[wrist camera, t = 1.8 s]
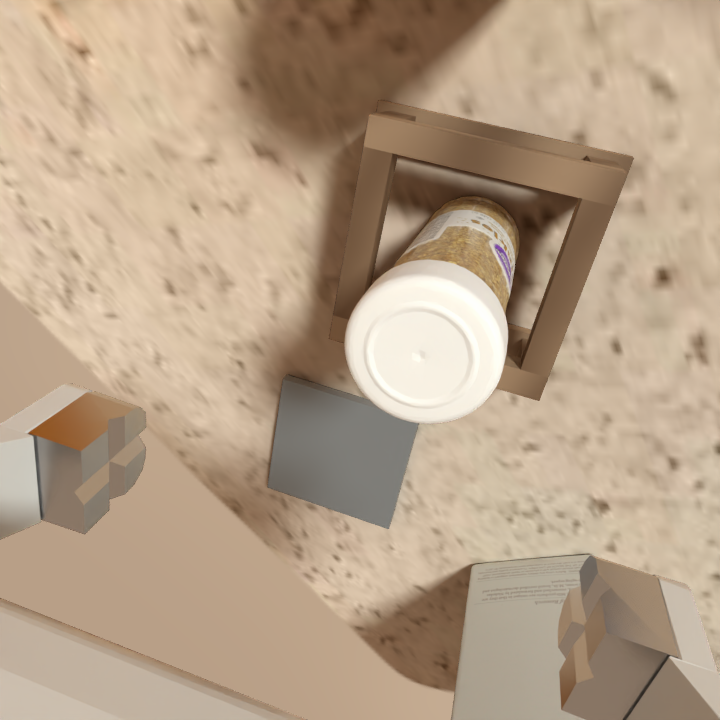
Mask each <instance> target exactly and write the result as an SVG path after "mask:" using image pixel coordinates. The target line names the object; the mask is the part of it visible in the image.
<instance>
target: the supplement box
mask: <svg viewBox="0 0 720 720" xmlns="http://www.w3.org/2000/svg"><path fill="white" fill-rule="evenodd" d="M590 555H592V554H590ZM590 555H576V556H562V557H551V558H539V559H525V560H514V561H503V562H490V563H482V564H476V565H473V566H472V568H471V574H470V582H469V588H468V595H467V604H466V611H465V619H464V626H463V633H462V641H461V648H460V656H459V663H458V672H457V679H456V686H455V694H454V701H453V710H452V717H451V720H585V719H582V718H580V717H577V716H575V715H572V714H570V713H567V712H565V711H562V710H561V695H560V677H559V671H560V669H561V667H562V665H563V663H564V662H565V660H566V658H565V657H564V655H563V654H562V652H561V651H560V649H559V648H558V625H559V618H560V614H561V611H562V607H563V604H564V602H565V599H566V597H567V595H568V593H569V591H570V590H572V589H574V588H576V587H578V586H581V585H580V573H579V571H580V569H581V567H582V566H583V564H584V562H585V560H586V559H587V558H588V557H589V556H590ZM592 556H594V555H592Z"/></svg>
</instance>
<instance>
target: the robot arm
mask: <svg viewBox="0 0 720 720" xmlns="http://www.w3.org/2000/svg"><path fill="white" fill-rule="evenodd" d="M145 428H146V412H145V411H144V410H143V409H142V408H141V407H138V406H135V405H133V404H130V403H127V402H124V401H121V400H118V399H116V398H113V397H110V396H107V395H104V394H101V393H98V392H96V391H92V390H89V389H86V388H83V387H80V386H78V385H74V384H63V385H61V386H60V387H58V388H56V389H55V390H53V391H52V392H50V393H48V394H47V395H45V396H44V397H42V398H40V399H39V400H37V401H36V402H34V403H33V404H31V405H29V406H28V407H26V408H25V409H23V410H22V411H20V412H18V413H17V414H15V415H14V416H12V417H10V418H9V419H7V420H6V421H4V422H3V423H1V424H0V539H3V538H5V537H7V536H10V535H12V534H15V533H17V532H19V531H22V530H24V529H26V528H29V527H31V526H33V525H36V524H38V523H40V522H41V520H44V521H47V522H50V523H53V524H56V525H59V526H62V527H65V528H68V529H71V530H73V531H76V532H79V533H82V534H86V533H87V532H88V531H89V530H90V529H91V528H92V527H93V525H94V524H95V523H97V522H98V521H99V520H100V519H101V518H102V516H104V515H105V514H106V513H107V512H108V511H109V499H112V498H115V497H118V496H121V495H124V494H126V492H127V491H128V490H129V489H130V488H131V487H132V486H133V485H134V484H135V482H136V480H137V479H138V477H139V475H140V473H141V471H142V469H143V465H144V461H145V454H146V447H145V445H144V443H143V441H142V440H141V438H140V436H139V434H140V433H141V432H142V431H143V430H144V429H145ZM579 573H580V585H581V586H578V587H576V588H574V589H572V590H570V591H569V593H568V595H567V597H566V599H565V602H564V604H563V607H562V611H561V614H560V618H559V625H558V648H559V649H560V651H561V652H562V654H563V655H564V657H565V658H566V660H565V662H564V663H563V665H562V667H561V669H560V671H559V677H560V695H561V710H562V711H565V712H567V713H570V714H572V715H575V716H577V717H580V718H582V719H585V720H720V673H718V670H717V667H716V664H715V661H714V658H713V655H712V652H711V649H710V646H709V643H708V640H707V637H706V634H705V631H704V627H703V624H702V621H701V618H700V615H699V612H698V609H697V606H696V603H695V600H694V597H693V594H692V591H691V589H690V588H689V587H688V586H687V585H686V584H684V583H681V582H677V581H674V580H671V579H667V578H664V577H661V576H657V575H651V574H648V573H645V572H642V571H639V570H636V569H633V568H630V567H626V566H623V565H620V564H617V563H614V562H611V561H608V560H605V559H602V558H598V557H595V556H592V555H590V556H589V557H588V558H587V559H586V560H585V562H584V564H583V566H582V567H581V569H580V571H579ZM0 720H307V719H304V718H302V717H299V716H297V715H294V714H291V713H289V712H286V711H284V710H281V709H279V708H276V707H274V706H271V705H269V704H266V703H264V702H261V701H259V700H256V699H254V698H251V697H249V696H246V695H244V694H241V693H239V692H236V691H234V690H231V689H228V688H226V687H223V686H221V685H218V684H216V683H213V682H211V681H208V680H206V679H203V678H201V677H198V676H195V675H193V674H191V673H188V672H186V671H183V670H181V669H178V668H176V667H173V666H171V665H168V664H165V663H163V662H160V661H158V660H155V659H153V658H150V657H148V656H145V655H143V654H140V653H138V652H135V651H133V650H130V649H128V648H125V647H123V646H120V645H118V644H115V643H113V642H110V641H108V640H105V639H102V638H100V637H97V636H95V635H92V634H90V633H87V632H85V631H82V630H80V629H77V628H75V627H72V626H70V625H67V624H65V623H62V622H60V621H57V620H55V619H52V618H50V617H47V616H44V615H42V614H39V613H37V612H34V611H32V610H29V609H27V608H24V607H22V606H19V605H17V604H14V603H12V602H9V601H7V600H4V599H2V598H0Z"/></svg>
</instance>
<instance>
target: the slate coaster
mask: <svg viewBox="0 0 720 720" xmlns="http://www.w3.org/2000/svg"><path fill="white" fill-rule="evenodd" d="M418 425H419V423H414V422H409V421H406V420H402V419H399V418H397V417H394V416H392V415H390V414H388V413H386V412H385V411H383V410H382V409H380V408H379V407H377V406H376V405H375V404H373V403H372V402H371V401H370V400H368V399H364V398H361V397H358V396H355V395H352V394H348V393H345V392H342V391H339V390H335V389H332V388H329V387H326V386H323V385H319V384H316V383H313V382H310V381H306V380H303V379H300V378H297V377H294V376H290V375H286V376H285V377H284V378H283V383H282V390H281V396H280V403H279V410H278V417H277V424H276V431H275V438H274V445H273V452H272V459H271V466H270V473H269V480H268V488H271V489H274V490H276V491H279V492H282V493H285V494H288V495H291V496H294V497H297V498H300V499H303V500H305V501H308V502H311V503H314V504H317V505H320V506H323V507H326V508H329V509H332V510H335V511H337V512H340V513H343V514H346V515H349V516H352V517H355V518H358V519H361V520H364V521H366V522H369V523H372V524H375V525H378V526H381V527H384V528H387V529H389V527H390V524H391V521H392V517H393V514H394V510H395V507H396V503H397V500H398V496H399V492H400V489H401V485H402V482H403V478H404V475H405V471H406V468H407V464H408V461H409V457H410V453H411V450H412V446H413V443H414V439H415V436H416V432H417V429H418Z"/></svg>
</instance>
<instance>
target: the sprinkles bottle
mask: <svg viewBox="0 0 720 720" xmlns="http://www.w3.org/2000/svg"><path fill="white" fill-rule="evenodd" d="M518 252H519V232H518V229H517V227H516V224H515V221H514V219H513V218H512V217H511V216H510V214H509V213H508V212H507V211H506V210H505V209H504V208H503V207H502V206H500V205H499V204H497V203H495V202H494V201H492V200H490V199H487V198H482V197H477V196H471V197H461V198H458V199H455V200H452V201H449V202H447V203H445V204H444V205H443V206H442V207H441V208H440V209H438V210H437V211H436V212H435V213H434V214H433V215H432V217H431V218H430V220H429V221H428V223H427V225H426V226H425V227H424V228H423V230H422V231H421V232H420V233H419V235H418V236H417V237H416V238H415V240H414V241H413V242H412V243H411V245H410V246H409V247H408V248H407V250H406V251H405V252H404V253H403V255H402V256H401V257H400V258H399V259H398V260H397V262H396V263H395V265H394V266H393V268H392V269H390V270H388V271H387V272H385V273H384V274H383V275H382V276H380V277H379V278H378V279H377V280H376V281H375V282H374V283H373V284H372V285H371V287H370V288H369V289H368V290H367V291H366V293H365V294H364V295H363V296H362V298H361V299H360V301H359V302H358V303H357V305H356V307H355V308H354V310H353V312H352V314H351V316H350V319H349V321H348V324H347V328H346V332H345V343H344V345H345V356H346V361H347V364H348V368H349V370H350V373H351V375H352V377H353V379H354V381H355V383H356V384H357V386H358V387H359V389H360V390H361V391H362V392H363V394H364V395H365V396H366V397H367V398H368V399H369V400H370V401H371V402H372V403H373V404H375V405H376V406H377V407H379V408H380V409H382V410H383V411H385V412H386V413H388V414H390V415H392V416H394V417H397V418H399V419H402V420H406V421H409V422H414V423H421V424H438V423H445V422H450V421H454V420H457V419H459V418H462V417H464V416H466V415H468V414H470V413H471V412H473V411H474V410H476V409H477V408H478V407H480V406H481V405H482V404H483V403H484V402H485V401H486V400H487V399H488V398H489V397H490V395H491V394H492V392H493V391H494V390H495V388H496V386H497V384H498V382H499V380H500V378H501V374H502V371H503V367H504V363H505V358H506V353H507V344H508V326H507V320H506V316H505V312H506V306H507V302H508V300H509V297H510V293H511V287H512V282H513V276H514V270H515V263H516V261H517V258H518Z"/></svg>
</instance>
